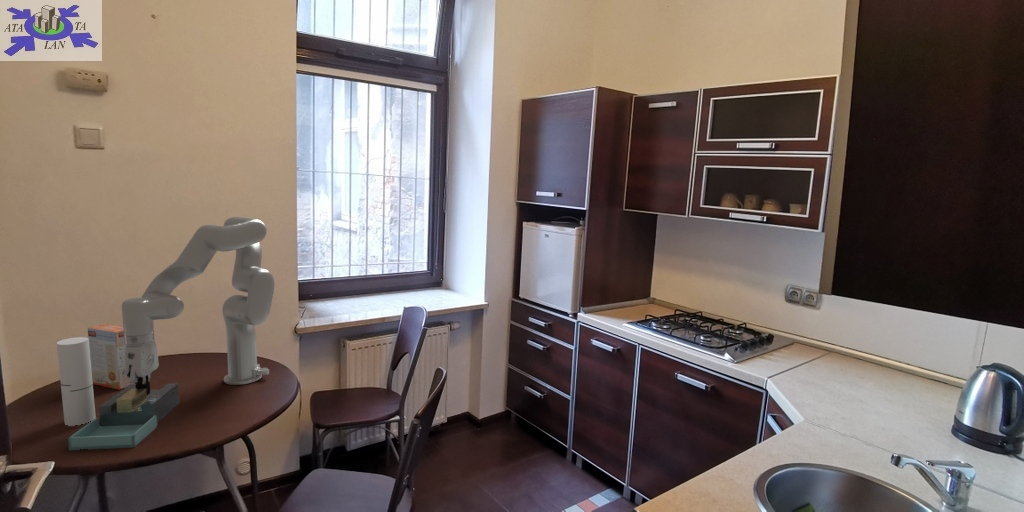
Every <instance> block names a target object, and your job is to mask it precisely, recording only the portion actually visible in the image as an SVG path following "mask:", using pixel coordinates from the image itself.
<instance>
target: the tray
mask: <svg viewBox="0 0 1024 512" xmlns="http://www.w3.org/2000/svg"><path fill="white" fill-rule="evenodd" d="M157 427H158V423H157V416H153V417H152V418H151V419H150V420H149V421H147V422H146V423H145V424H144V425H120V426H101V425H100V417H96V418H95V419H94V420H92V421H91V422H89V423H86V424H85V425H84V426H83V427H81V428H80V429H79V430H77V431H76V432H74V433H72V434H71V435H70V436H69V437H67V440H68V441H67V442H68V444H67V445H68V450H69V451H81V450H80V449H82V451H83V449H88V450H103V449H104V450H105V449H106V450H107V449H126V448H127V449H128V448H136V447H137V446H138V445H139V444H140V443H141V442H142V441H143V440H144V439H145V438H147V437H148V436H149V435H150V434H151V433H152V432H154V431H155V429H156V428H157Z"/></svg>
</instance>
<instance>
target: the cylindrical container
mask: <svg viewBox="0 0 1024 512" xmlns="http://www.w3.org/2000/svg"><path fill="white" fill-rule="evenodd" d="M56 350H57V360H58V368H59V369H58V370H59V371H58V372H59V380H60V389H61V399H62V400H61V401H62V409H63V411H62V413H63V419H64V420H63V421H64V425H65V426H66V425H68V426H67V427H76V426H75V425H78V426H82V425H81V424H83V425H86V424H88V422H89V423H90V421H92V420H94V419H95V418H97V417H96V408H95V407H96V406H95V405H96V404H95V396H94V384H93V383H92V371H91V360H90V349H89V339H88V337H86V336H78V337H77V336H76V337H69V338H65V339H61V340H59V341H57V342H56ZM85 423H86V424H85Z"/></svg>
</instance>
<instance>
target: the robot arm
mask: <svg viewBox="0 0 1024 512" xmlns="http://www.w3.org/2000/svg"><path fill="white" fill-rule="evenodd" d="M267 232H268V229H267V226H266V225H265V223H264V222H263V221H262V220H260V219H257V218H251V217H250V218H249V217H242V216H231V217H229V218H227V219H226V220H225V221H224V223H223V225H215V224H204V225H201V226H200V227H198V229H197V230H196V231H195V232H194V234H193V235H192V236H191V238H190V240H189V241H188V243H187V244H186V245H185V247H184V248H183V250H182V252H181V253H180V254H179V255H178V257H177V259H176V260H175V261H174V262H173V263H172V264H171V263H170V264H169V265H168V266H166V268H165V269H164V270H162V271H161V272H160V273H159V274H157V275H156V276H155V277H154V278H153V279H152V281H151V282H150V283H149V285H148V286H147V287H146V289H145V291H144V292H143V294H142V295H141V297H133V298H129V299H125V300H124V301H122V303H121V316H122V318H121V319H122V327H123V331H124V345H125V346H126V348H125V372H126V376H127V377H128V378H130V383H134V384H135V385H136V389H146V391H147V395H148V394H150V390H151V384H150V383H151V382H150V381H151V374H152V372H154V371H155V370H157V369H158V368H159V367H160V366H159V365H160V363H159V355H158V348H157V344H156V340H155V330H154V329H155V328H154V321H156V320H170V319H174V318H177V317H178V316H179V315H181V314H182V313H183V311H184V310H185V309H184V308H185V305H184V302H183V300H182V299H181V298H180V297H178V296H176V295H172V293H173V292H174V290H175V289H176V288H177V287H178V286H179V285H181V284H183V283H184V282H186V281H188V280H191V279H193V278H195V277H199V276H200V275H202V274H203V273H205V270H206V269H207V267H208V265H209V264H210V263H211V261H212V259H213V258H214V256H215V255H216V253H217V252H223V253H224V252H230V251H235V259H234V265H233V271H232V277H231V285H232V287H233V288H234V289H235V290H237V291H239V292H243V293H247V295H243V294H235V295H231V296H229V297H228V298H227V299H226V300H224V302H223V305H222V311H221V312H222V316H223V321H224V323H225V329H226V333H225V334H226V349H227V350H226V351H227V373H228V374H226V375H225V376H224V378H223V383H225V384H227V385H229V386H230V385H231V386H238V385H239V386H240V385H247V384H252V383H255V382H257V381H259V380H260V379H261V378H262V377H263V375H264V376H265V375H267V376H268V375H270V369H268V367H261V366H260V363H258V357H257V356H258V355H257V332H256V326H260V325H262V324H263V323H265V322H266V321H267V320H268V318H269V316H270V314H271V313H270V312H271V308H272V304H273V303H272V302H273V297H274V292H275V277H274V276H273V274H272V273H271V271H269V270H268V269H266V268H262V267H261V266H262V257H263V250H262V245H261V243H260V242H261V241H262V240H264V239H265V237H266V236H267Z"/></svg>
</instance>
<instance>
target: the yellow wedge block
mask: <svg viewBox="0 0 1024 512" xmlns="http://www.w3.org/2000/svg"><path fill="white" fill-rule="evenodd" d="M125 394H139V397H140V406H141V404H143V403H144V402H145V401H146V400H147V391H146V389H131V390H130V391H128V392H127V393H125Z"/></svg>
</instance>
